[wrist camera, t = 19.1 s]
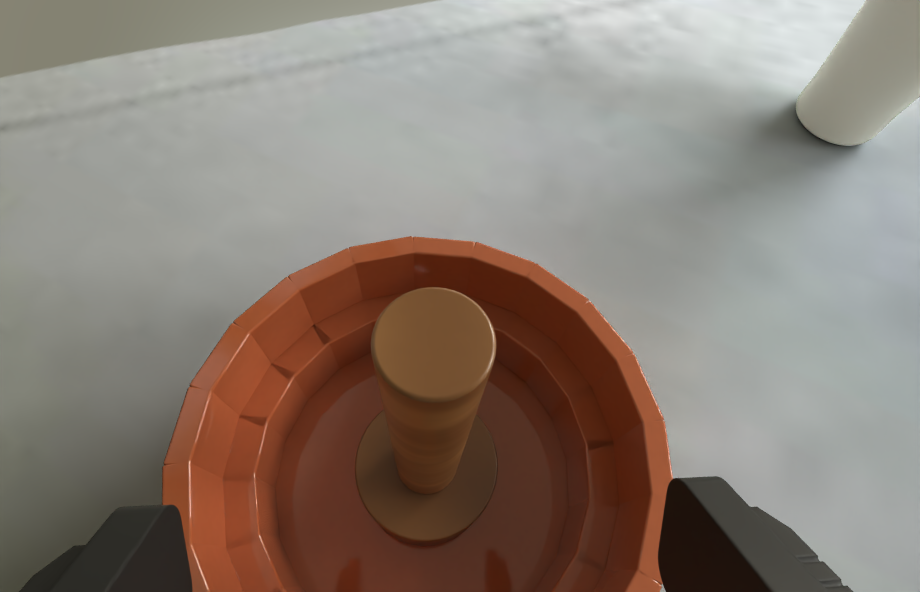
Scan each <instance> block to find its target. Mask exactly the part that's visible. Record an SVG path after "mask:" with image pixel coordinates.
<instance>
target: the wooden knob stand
mask: <svg viewBox="0 0 920 592" xmlns="http://www.w3.org/2000/svg"><path fill="white" fill-rule="evenodd" d="M371 354H372V359H373V364H374V368H375V373H376V377H377V382H378V386H379V391H380V395H381V400H382V404H383V410H382V411H381V412H380V413H379V414H378V415H377V416H376V417H375V418H374V419H373V420H372V421H371V423H370V424H369V425H368V427H367V428H366V430H365V432H364V434H363V436H362V438H361V440H360V443H359V445H358V449H357V453H356V459H355V479H356V486H357V489H358V493H359V496H360V498H361V500H362V503H363V505H364V506H365V508H366V510H367V511H368V513H369V514H370V515H371V516H372V518H373V519H374V520H375V521H376V522H377V524H378V525H379V526H380V527H381V528H382V529H383V530H384V531H385V532H386V533H388V534H389V535H391V536H392V537H394V538H395V539H397V540H399V541H402V542H404V543H408V544H411V545H417V546H431V545H438V544H441V543H445V542H447V541H449V540H452V539H454V538H455V537H457V536H459V535H460V534H461V533H463V532H464V531H465V530H466V529H468V528H469V527H470V526H471V525H472V524H473V523H474V522H475V521H476V519H477V518H478V517H479V516H480V515H481V514H482V512H483V511H484V510H485V508H486V507H487V505H488V503H489V501H490V499H491V497H492V494H493V492H494V489H495V485H496V481H497V473H498V459H497V452H496V448H495V444H494V441H493V439H492V436H491V434H490V432H489V430H488V428H487V427H486V425H485V424H484V422H483V421H482V420H481V418H480V417H479V416H478V415H477V414H476V413H477V410H478V407H479V404H480V401H481V398H482V395H483V392H484V389H485V387H486V384H487V381H488V378H489V375H490V372H491V369H492V366H493V363H494V360H495V356H496V336H495V332H494V328H493V326H492V323H491V321H490V319H489V318H488V316H487V315H486V313H485V312H484V311H483V309H482V308H481V307H480V306H479V305H478V304H477V303H476V302H475V301H473V300H472V299H470V298H469V297H467V296H466V295H464V294H462V293H460V292H457V291H454V290H451V289H447V288H441V287H426V288H420V289H416V290H413V291H410V292H407V293H405V294H403V295H401V296H400V297H398V298H396V299H395V300H394V301H392V302H391V303H390V304H389V305H388V306H387V307H386V308H385V309H384V310H383V312H382V313H381V314H380V316H379V317H378V319H377V321H376V323H375V326H374V328H373V332H372V336H371Z"/></svg>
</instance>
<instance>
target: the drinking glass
mask: <svg viewBox="0 0 920 592" xmlns="http://www.w3.org/2000/svg"><path fill="white" fill-rule="evenodd" d="M919 97H920V0H866V1H865V2H864V4H863V5H862V7H861V8H860V10H859V11H858V13H857V14H856V16H855V17H854V19H853V20H852V22H851V23H850V25H849V26H848V28H847V29H846V31H845V32H844V34H843V35H842V37H841V38H840V40H839V41H838V42H837V44H836V45H835V47H834V48H833V50H832V51H831V53H830V54H829V56H828V57H827V59H826V60H825V62H824V63H823V65H822V66H821V67H820V69H819V70H818V72H817V73H816V75H815V76H814V77H813V78H812V80H811V81H810V82H809V83H808V85H807V86H806V87H805V89H804V90H803V91H802V92H801V94H800V95H799V97H798V99H797V103H796V112H797V116H798V118H799V120H800V121H801V123H802V124H803V125H804V126H805V128H806V129H808V130H809V131H810V132H811V133H812V134H814V135H815V136H817V137H819V138H821V139H823V140H825V141H827V142H830V143H833V144H837V145H843V146H854V145H860V144H863V143H865V142H868V141H869V140H871V139H872V138H874V137H875V136H876V135H877V134H878V133H879V132H880V131H882V130H883V129H884V128H885V127H886V126H887V125H888V124H889V123H890V122H891V121H892V120H893V119H894V118H895V117H896V116H897V115H899V114H900V113H901V112H902V111H903V110H905V109H906V108H907V107H908V106H909V105H910V104H912V103H913V102H914V101H915V100H916V99H918V98H919Z"/></svg>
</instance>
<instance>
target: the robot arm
mask: <svg viewBox="0 0 920 592" xmlns="http://www.w3.org/2000/svg"><path fill="white" fill-rule="evenodd" d="M658 565H659V571H660V576H661V579H662V582H663V585H664V588H665V590H666V592H853V591H852V590H851V589H850V588H849V587H848V586H843V585H842V583H841V579H840V578H839V577H838V576H837V575H836V574H835V573H834V572H833V571H832V570H831V569H830V568H829V567H828V566H827V565H826V564H825V563H824V562H820V561H819V560H818V556H817V555H816V554H815V553H814V552H813V551H812V550H811V548H810V547H809V546H808V545H807V544H806V543H805V542H804V541H803V540H802V539H801V538H800V537H799V536H798V535H797V534H796V533H795V532H794V531H793V530H792V529H791V528H789V527H788V526H786V525H784V524H783V523H781V522H780V521H778V520H777V519H775V518H774V517H772V516H770V515H769V514H767V513H766V512H764V511H763V510H761V509H760V508H758V507H749V506H748V505H747V504H746V502H745V501H744V500H743V499H742V498H741V497H740V496H739V495H738V494H737V493H736V492H735V491H734V490H733V488H732V487H731V486H730V485H729V484H728V483H727V482H726V481H725V480H724V479H722V478H720V477H716V476H714V477H693V478H675V479H672V480H671V481H670V483H669V485H668V488H667V493H666V500H665V507H664V514H663V521H662V527H661V534H660V541H659V548H658ZM192 591H193V588H192V578H191V572H190V566H189V561H188V555H187V549H186V543H185V538H184V532H183V526H182V520H181V515H180V512H179V510H178V508H177V507H176V506H175V505H153V506H133V507H121V508H118V509H117V510H115V511H114V512H113V513H112V514H111V515H110V516H109V518H108V519H107V520H106V521H105V522H104V524H103V525H102V526H101V527H100V529H99V530H98V531H97V532H96V533H95V535H94V536H93V537H92V538H91V539H90V541H89V542H88V543H87V544H86V545H82V546H73V547H72V548H71V549H69V550H68V551H66V552H65V553H64V554H62V555H61V556H60V557H58V558H57V559H55V560H54V561H53V562H51V563H50V564H49V565H47V566H46V567H44V568H43V569H42V570H40V571H39V572H38V573H36V574H35V575H34V576H33V577H32V578H31V579H30V580H29V581H28V582H27V583H26V585H25V586H24V587H23V588H22V589H21V590H20V591H19V592H192Z"/></svg>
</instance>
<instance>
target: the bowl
mask: <svg viewBox="0 0 920 592" xmlns="http://www.w3.org/2000/svg"><path fill="white" fill-rule="evenodd" d="M426 287H441V288H447V289H451V290H454V291H457V292H460V293H462V294H464V295H466V296H467V297H469V298H470V299H472V300H473V301H475V302H476V303H477V304H478V305H479V306H480V307H481V308H482V309H483V311H484V312H485V313H486V315H487V316H488V318H489V319H490V321H491V323H492V326H493V328H494V332H495V336H496V356H495V360H494V363H493V366H492V369H491V372H490V375H489V378H488V381H487V384H486V387H485V389H484V392H483V395H482V398H481V401H480V404H479V407H478V410H477V413H476V414H477V415H478V416H479V417H480V418H481V420H482V421H483V422H484V424H485V425H486V427H487V428H488V430H489V432H490V434H491V436H492V439H493V441H494V444H495V448H496V452H497V459H498V473H497V481H496V485H495V489H494V492H493V494H492V497H491V499H490V501H489V503H488V505H487V507H486V508H485V510H484V511H483V512H482V514H481V515H480V516H479V517H478V518H477V519H476V521H475V522H474V523H473V524H472V525H471V526H470V527H469V528H468V529H466V530H465V531H464V532H463V533H461V534H460V535H459V536H457V537H455V538H454V539H452V540H449V541H447V542H445V543H441V544H438V545H431V546H417V545H411V544H408V543H404V542H402V541H399V540H397V539H395V538H394V537H392V536H391V535H389V534H388V533H386V532H385V531H384V530H383V529H382V528H381V527H380V526H379V525H378V524H377V522H376V521H375V520H374V519H373V518H372V516H371V515H370V514H369V513H368V511H367V510H366V508H365V506H364V505H363V503H362V500H361V498H360V496H359V493H358V489H357V486H356V479H355V459H356V453H357V449H358V445H359V443H360V440H361V438H362V436H363V434H364V432H365V430H366V428H367V427H368V425H369V424H370V423H371V421H372V420H373V419H374V418H375V417H376V416H377V415H378V414H379V413H380V412H381V411H382V410H383V404H382V400H381V395H380V391H379V386H378V382H377V377H376V373H375V368H374V364H373V359H372V354H371V336H372V332H373V328H374V326H375V323H376V321H377V319H378V317H379V316H380V314H381V313H382V312H383V310H384V309H385V308H386V307H387V306H388V305H389V304H390V303H391V302H392V301H394V300H395V299H396V298H398V297H400V296H401V295H403V294H405V293H407V292H410V291H413V290H416V289H420V288H426ZM663 420H664V418H663V415H662V413H661V411H660V409H659V407H658V404H657V402H656V400H655V398H654V396H653V393H652V391H651V389H650V387H649V385H648V382H647V380H646V378H645V376H644V374H643V371H642V369H641V367H640V365H639V363H638V360H637V358H636V356H635V354H633V351H632V350H631V349H630V348H629V346H628V345H627V344H626V343H625V342H624V340H623V339H622V338H621V337H620V336H619V335H618V333H617V332H616V331H615V330H614V329H613V327H612V326H611V325H610V324H609V323H608V321H607V320H606V319H605V318H604V317H603V316H602V314H601V313H600V312H599V311H598V310H597V308H596V307H595V306H594V305H593V304H592V303H591V302H590V301H589V300H588V299H587V298H586V297H584V296H583V295H582V294H580V293H579V292H577V291H576V290H574V289H573V288H571V287H570V286H568V285H567V284H566V283H564V282H563V281H561V280H560V279H558V278H557V277H555V276H554V275H553V274H551V273H550V272H548V271H547V270H545V269H544V268H542V267H541V266H539V265H538V264H535V263H534V262H532V261H529V260H526V259H523V258H521V257H518V256H515V255H512V254H509V253H506V252H504V251H501V250H498V249H495V248H492V247H490V246H487V245H484V244H481V243H478V242H476V243H475V242H473V241H461V240H449V239H437V238H425V237H412V236H410V237H404V238H398V239H393V240H387V241H381V242H376V243H370V244H364V245H359V246H353V247H349V249H348V248H347V249H344V250H342V251H340V252H338V253H336V254H334V255H332V256H329V257H327V258H325V259H323V260H321V261H319V262H316V263H314V264H312V265H310V266H308V267H306V268H303V269H301V270H299V271H297V272H295V273H293V274H291V275H289V276H288V277H286V278H284V279H283V280H282V281H281V282H280V283H278V284H277V285H276V286H275V287H274V288H272V289H271V290H270V291H269V292H268V293H266V294H265V295H264V296H263V297H262V298H261V299H259V300H258V301H257V302H256V303H255V304H253V305H252V306H251V307H250V308H249V309H247V310H246V311H245V312H244V313H243V314H241V315H240V316H239V317H238V318H237V319H236V320H234V322H233V323H232V324H231V325H230V326H229V328H228V329H227V331H226V332H225V333H224V335H223V336H222V338H221V339H220V341H219V342H218V344H217V345H216V347H215V348H214V350H213V351H212V352H211V354H210V355H209V357H208V358H207V360H206V361H205V363H204V364H203V366H202V367H201V369H200V370H199V371H198V373H197V374H196V376H195V377H194V379H193V380H192V382H191V383H190V387H189V388H188V389H187V392H186V396H185V399H184V402H183V405H182V408H181V411H180V414H179V417H178V420H177V423H176V426H175V429H174V433H173V436H172V439H171V442H170V445H169V448H168V451H167V454H166V457H165V460H164V466H163V468H162V505H175V506H176V507H177V508H178V510H179V512H180V515H181V520H182V526H183V532H184V538H185V543H186V549H187V555H188V561H189V566H190V572H191V578H192V588H193V591H192V592H660V590H661V588H662V586H661V585H662V584H663V582H662V579H661V576H660V571H659V565H658V548H659V541H660V534H661V527H662V521H663V514H664V507H665V500H666V493H667V488H668V485H669V483H670V481H671V480H672V479H673V475H672V468H671V461H670V454H669V447H668V440H667V433H666V426H665V422H664V421H663Z"/></svg>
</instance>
